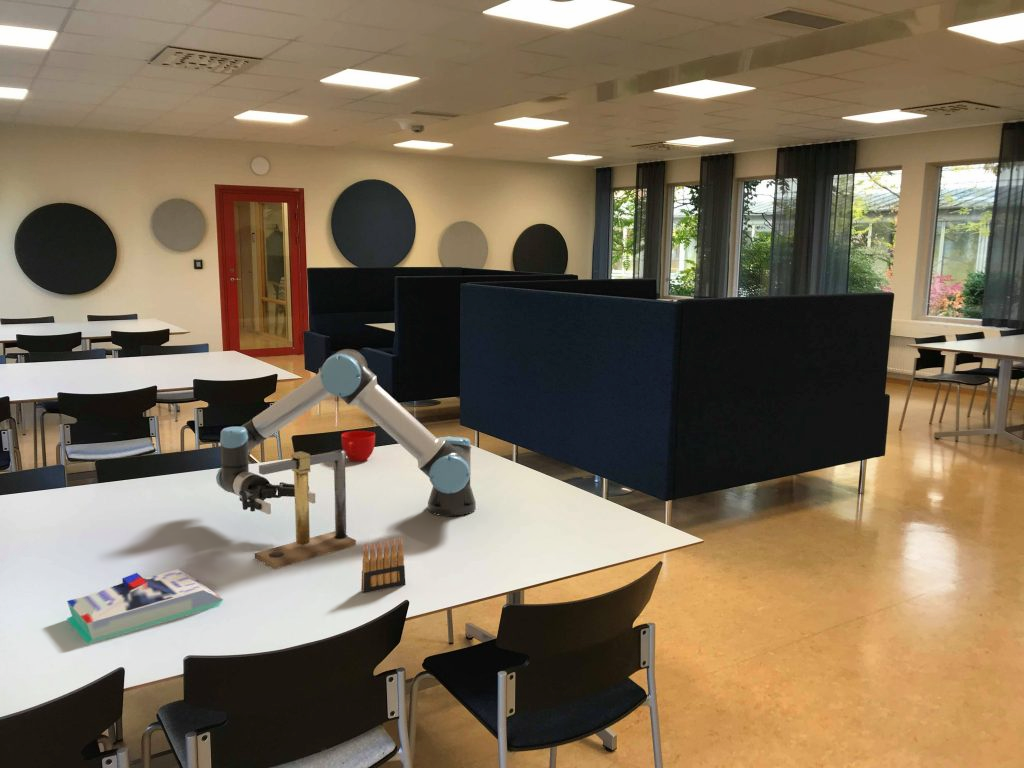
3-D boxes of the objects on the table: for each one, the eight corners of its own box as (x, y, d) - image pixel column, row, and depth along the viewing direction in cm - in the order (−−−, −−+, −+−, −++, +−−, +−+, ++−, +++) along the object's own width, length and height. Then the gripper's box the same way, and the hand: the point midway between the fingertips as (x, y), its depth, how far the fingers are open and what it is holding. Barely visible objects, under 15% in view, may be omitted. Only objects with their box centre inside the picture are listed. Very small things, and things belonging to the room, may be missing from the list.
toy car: (60, 621, 179) (57, 583, 178) (195, 585, 199) (194, 550, 198) (83, 649, 167) (80, 608, 165) (225, 607, 187) (224, 571, 186)
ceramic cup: (332, 465, 308) (332, 439, 307) (348, 454, 325) (348, 430, 323) (365, 467, 306) (365, 441, 304) (380, 456, 323) (379, 431, 321)
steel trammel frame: (342, 534, 230) (340, 449, 226) (348, 536, 228) (347, 451, 224) (261, 556, 213) (257, 465, 209) (266, 559, 211) (263, 467, 207)
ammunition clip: (363, 593, 195) (363, 545, 193) (361, 590, 196) (360, 542, 194) (405, 584, 200) (405, 538, 198) (402, 582, 202) (402, 535, 200)
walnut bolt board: (336, 535, 233) (336, 530, 233) (357, 544, 226) (357, 539, 226) (254, 558, 215) (254, 552, 215) (274, 569, 208) (273, 563, 208)
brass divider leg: (304, 541, 222) (302, 451, 218) (313, 545, 219) (310, 453, 215) (292, 544, 220) (290, 453, 216) (301, 548, 217) (298, 456, 213)
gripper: (291, 491, 244) (331, 507, 230) (211, 509, 226) (250, 527, 212) (290, 466, 243) (331, 481, 228) (210, 483, 225) (249, 499, 211)
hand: (292, 503), depth 220 cm, fingers open, 13 cm apart
